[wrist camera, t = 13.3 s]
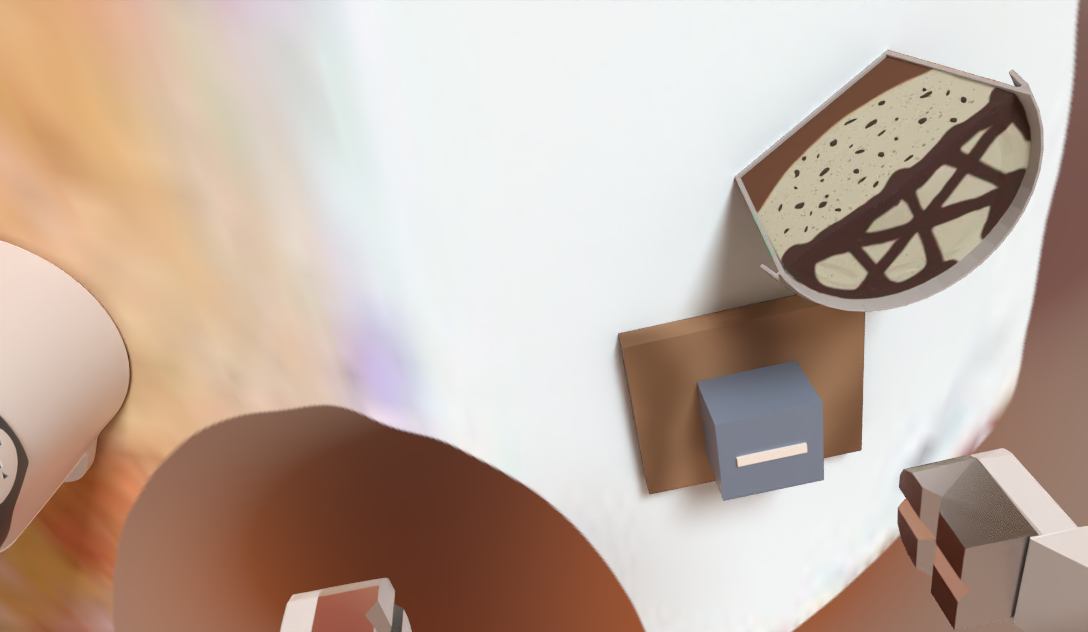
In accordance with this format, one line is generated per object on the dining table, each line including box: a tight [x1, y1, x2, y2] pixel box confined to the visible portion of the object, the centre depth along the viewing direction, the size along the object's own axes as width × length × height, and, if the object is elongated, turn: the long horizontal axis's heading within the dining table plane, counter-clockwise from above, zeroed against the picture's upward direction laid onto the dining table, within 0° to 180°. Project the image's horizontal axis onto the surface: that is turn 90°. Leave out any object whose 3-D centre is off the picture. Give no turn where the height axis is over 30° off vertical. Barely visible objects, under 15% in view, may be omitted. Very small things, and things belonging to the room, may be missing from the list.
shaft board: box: [619, 295, 865, 494], centre depth 46 cm, size 14×12×4 cm
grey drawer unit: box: [697, 360, 824, 501], centre depth 45 cm, size 6×6×4 cm
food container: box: [735, 50, 1043, 312], centre depth 36 cm, size 12×6×10 cm, turn 133°
